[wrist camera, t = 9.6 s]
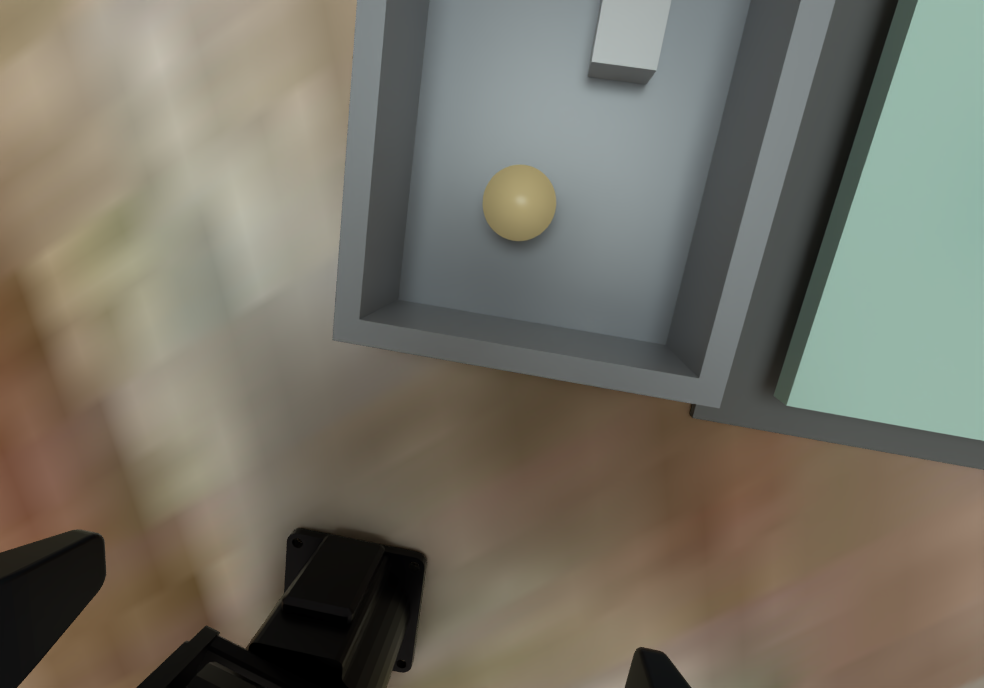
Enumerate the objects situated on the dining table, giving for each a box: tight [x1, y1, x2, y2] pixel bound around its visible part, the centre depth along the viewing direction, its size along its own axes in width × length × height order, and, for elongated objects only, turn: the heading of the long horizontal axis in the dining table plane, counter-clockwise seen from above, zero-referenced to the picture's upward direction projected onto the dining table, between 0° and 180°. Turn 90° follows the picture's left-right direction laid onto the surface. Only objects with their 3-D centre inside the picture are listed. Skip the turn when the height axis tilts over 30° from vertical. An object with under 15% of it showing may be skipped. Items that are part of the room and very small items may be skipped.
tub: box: [333, 0, 835, 408], centre depth 16 cm, size 16×12×5 cm
